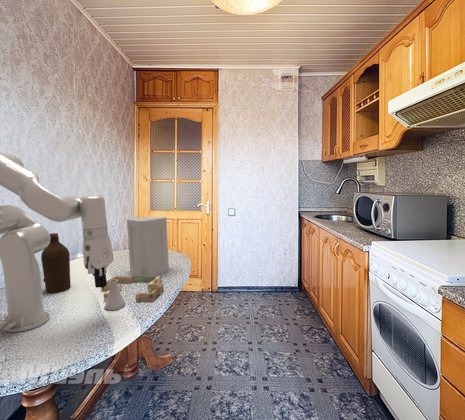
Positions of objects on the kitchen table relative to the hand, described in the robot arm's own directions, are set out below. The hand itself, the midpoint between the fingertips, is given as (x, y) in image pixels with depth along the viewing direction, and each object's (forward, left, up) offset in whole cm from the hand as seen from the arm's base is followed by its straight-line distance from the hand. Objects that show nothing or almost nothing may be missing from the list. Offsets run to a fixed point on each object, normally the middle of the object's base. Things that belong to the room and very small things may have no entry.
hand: (101, 286), depth 98 cm
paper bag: (+47, +5, -11) cm, 49 cm away
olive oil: (+25, +37, -11) cm, 45 cm away
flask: (+9, +1, -11) cm, 14 cm away
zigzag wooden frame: (+25, +2, -11) cm, 27 cm away
